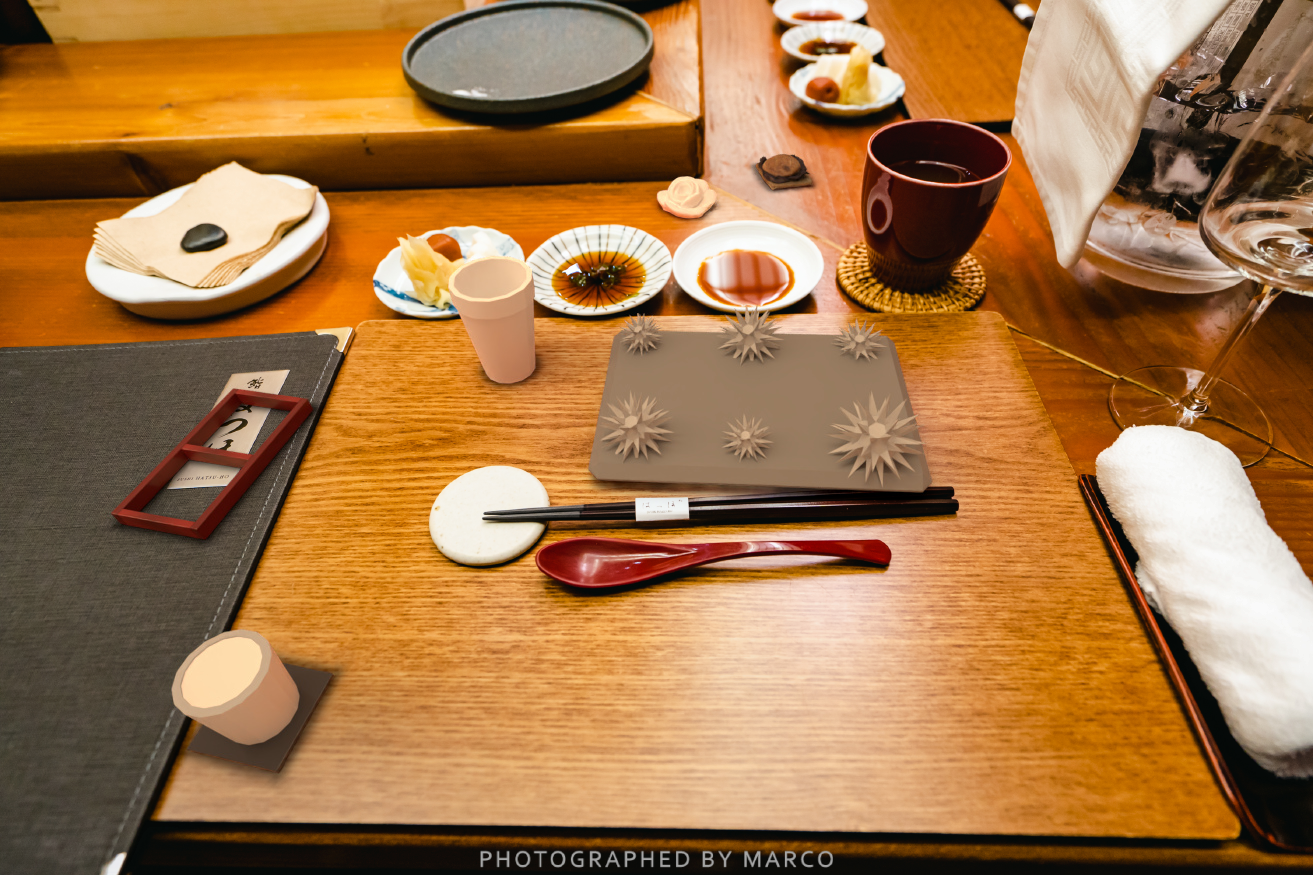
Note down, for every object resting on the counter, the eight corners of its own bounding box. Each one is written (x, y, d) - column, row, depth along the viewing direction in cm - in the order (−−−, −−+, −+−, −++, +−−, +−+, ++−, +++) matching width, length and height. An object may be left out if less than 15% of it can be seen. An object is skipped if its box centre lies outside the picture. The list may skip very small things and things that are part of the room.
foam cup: (495, 338, 90) (474, 251, 81) (559, 350, 88) (545, 262, 79) (459, 384, 84) (432, 294, 74) (527, 398, 82) (508, 307, 72)
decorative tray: (888, 349, 86) (907, 282, 79) (931, 510, 68) (960, 441, 61) (616, 342, 89) (610, 276, 82) (587, 495, 71) (577, 427, 64)
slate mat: (278, 773, 52) (276, 771, 52) (188, 750, 53) (186, 748, 53) (334, 675, 58) (332, 673, 57) (251, 657, 59) (249, 655, 59)
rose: (716, 167, 115) (718, 193, 108) (715, 192, 118) (717, 219, 111) (657, 167, 115) (655, 194, 108) (658, 192, 118) (656, 219, 112)
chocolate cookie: (815, 187, 119) (818, 166, 116) (768, 191, 118) (770, 170, 115) (796, 161, 126) (799, 141, 123) (752, 165, 125) (754, 145, 122)
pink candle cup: (204, 710, 55) (156, 671, 50) (285, 653, 59) (248, 611, 54) (237, 772, 52) (190, 737, 47) (322, 708, 55) (286, 669, 50)
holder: (313, 409, 81) (308, 398, 80) (205, 540, 68) (196, 529, 67) (240, 398, 83) (233, 387, 81) (120, 524, 70) (109, 513, 68)
